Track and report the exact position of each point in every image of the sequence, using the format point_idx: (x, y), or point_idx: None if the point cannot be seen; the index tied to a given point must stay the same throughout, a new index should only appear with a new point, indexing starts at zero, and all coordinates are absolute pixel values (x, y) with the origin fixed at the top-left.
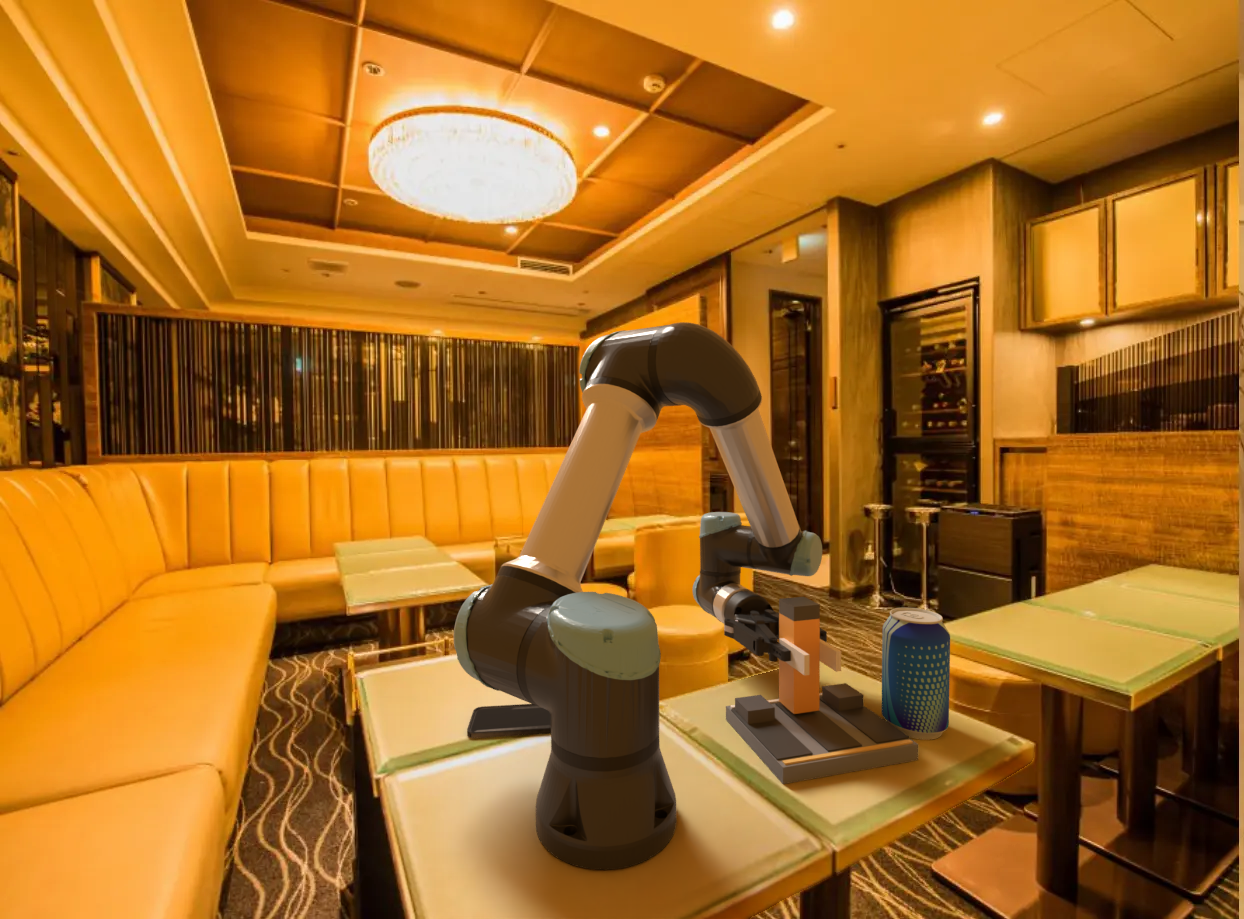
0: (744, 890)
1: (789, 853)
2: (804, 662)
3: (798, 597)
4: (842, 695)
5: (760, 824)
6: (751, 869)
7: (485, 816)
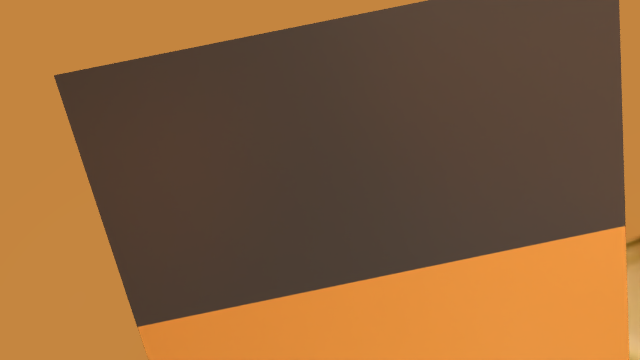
0: (633, 241)
1: None
2: None
3: (189, 50)
4: None
5: (629, 313)
6: (629, 259)
7: None
